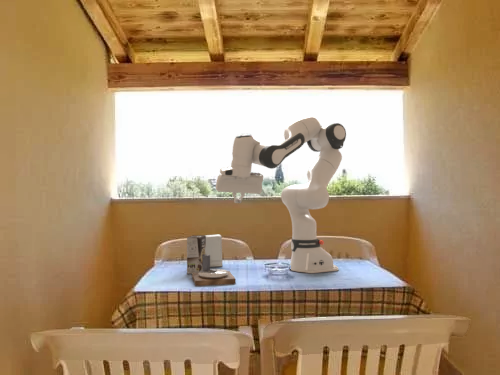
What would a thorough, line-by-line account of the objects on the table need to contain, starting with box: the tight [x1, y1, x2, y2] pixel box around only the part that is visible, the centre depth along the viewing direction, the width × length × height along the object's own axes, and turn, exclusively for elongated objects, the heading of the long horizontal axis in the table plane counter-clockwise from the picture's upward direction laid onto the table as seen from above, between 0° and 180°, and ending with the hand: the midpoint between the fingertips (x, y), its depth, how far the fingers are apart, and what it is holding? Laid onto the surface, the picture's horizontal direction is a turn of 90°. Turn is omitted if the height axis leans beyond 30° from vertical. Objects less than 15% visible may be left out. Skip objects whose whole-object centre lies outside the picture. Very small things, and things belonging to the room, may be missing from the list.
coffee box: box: [186, 234, 206, 275], centre depth 202 cm, size 9×6×16 cm
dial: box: [199, 254, 229, 279], centre depth 185 cm, size 12×12×8 cm
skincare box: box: [203, 233, 223, 268], centre depth 216 cm, size 8×6×15 cm
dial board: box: [191, 270, 237, 287], centre depth 186 cm, size 16×15×2 cm
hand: (237, 202), depth 196 cm, fingers closed
